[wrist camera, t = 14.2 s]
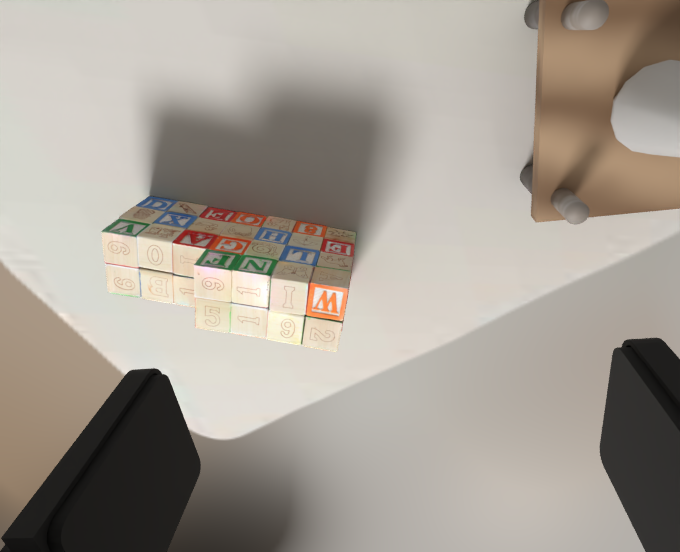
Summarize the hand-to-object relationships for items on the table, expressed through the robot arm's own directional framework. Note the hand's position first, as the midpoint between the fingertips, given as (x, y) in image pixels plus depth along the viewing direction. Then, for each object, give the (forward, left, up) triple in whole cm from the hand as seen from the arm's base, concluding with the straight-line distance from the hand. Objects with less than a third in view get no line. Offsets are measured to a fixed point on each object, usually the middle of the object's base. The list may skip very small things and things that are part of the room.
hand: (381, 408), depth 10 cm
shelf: (0, +18, -36) cm, 41 cm away
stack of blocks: (+10, -15, -37) cm, 41 cm away
